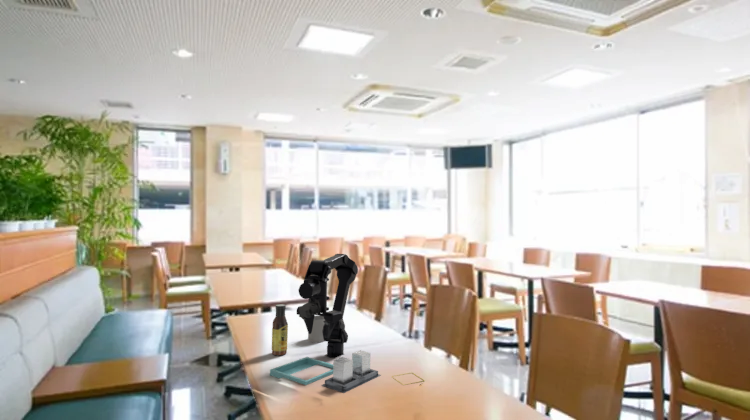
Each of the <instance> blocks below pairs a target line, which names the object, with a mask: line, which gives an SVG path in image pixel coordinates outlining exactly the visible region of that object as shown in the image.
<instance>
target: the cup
mask: <svg viewBox="0 0 750 420" xmlns="http://www.w3.org/2000/svg"><path fill="white" fill-rule="evenodd" d="M323 321H325V319H324V317H323V316H319V315H315V316H314V322H313V328H312V332H311V334H309V333H308V332H307V341H308V342H310V343H317V344H318V343H323V342H325V341H324V339H323V333H322V330H323V327H324V324H325V323H324V322H323Z"/></svg>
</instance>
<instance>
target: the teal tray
mask: <svg viewBox="0 0 750 420" xmlns="http://www.w3.org/2000/svg"><path fill="white" fill-rule="evenodd" d="M317 365H320V366H323V367H326V368H329V369H331V370H328V371H325V372H323V373H321V374H318V375H316V376H314V377H311V378H309V379H303V378H300V377H298V376H295V375H294V374H296V373H299V372H301V371H304V370H307V369H309V368H311V367H314V366H317ZM331 375H332V376H333V364H332V363H330V362H326V361H322V360H319V359H316V358H313V357H309V356H306V357H302V358H299V359H296V360H294V361H290V362H288V363H285V364H282V365H280V366H276V367H273V368H271V369H269V376H271V377H274V378H277V379H283V378H284V379H287V380H290V381H293V382H296V383H298V384H301V385H305V386H307V385H309V384H312V383H314V382H317V381H319V380H321V379H324V378H326V377H329V376H331Z"/></svg>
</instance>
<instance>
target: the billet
mask: <svg viewBox="0 0 750 420" xmlns="http://www.w3.org/2000/svg"><path fill="white" fill-rule="evenodd" d="M332 370H333V374H332V377H333V382H336V383H339V384H342V385H345V384H347V383H350V382H352V374H353V360H352V358H347V357H344V356H340V357H339V358H338V357H337V358H335V359H334V360H333V369H332Z"/></svg>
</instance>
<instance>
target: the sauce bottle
mask: <svg viewBox="0 0 750 420" xmlns="http://www.w3.org/2000/svg"><path fill="white" fill-rule="evenodd" d="M288 325H289V324H288V321H287V318H286V304H282V303H281V304H276V305H275V317H274V319H273V320H272V329H271V350H272V351H271V354H272V355H273V356H283V355H286V354H287V352H288V351H287V350H288V331H289V328H288V327H289V326H288Z"/></svg>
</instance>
